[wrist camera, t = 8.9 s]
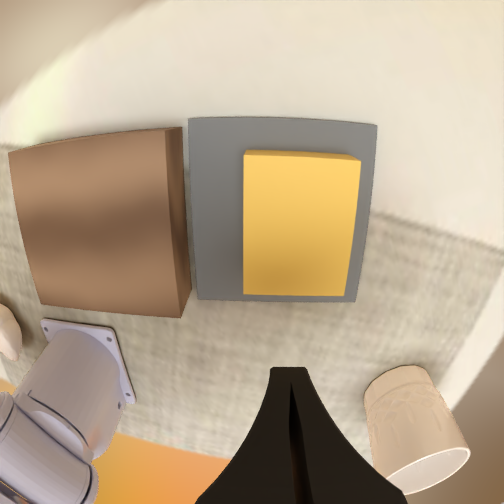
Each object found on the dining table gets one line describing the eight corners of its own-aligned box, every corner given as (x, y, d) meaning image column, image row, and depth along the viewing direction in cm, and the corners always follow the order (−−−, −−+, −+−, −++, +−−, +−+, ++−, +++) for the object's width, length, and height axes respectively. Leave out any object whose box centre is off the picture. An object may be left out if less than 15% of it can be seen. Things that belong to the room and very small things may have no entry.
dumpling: (43, 342, 26) (24, 368, 23) (17, 347, 27) (-1, 370, 24) (7, 283, 24) (-18, 305, 20) (-17, 294, 25) (-39, 314, 21)
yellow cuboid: (243, 294, 19) (245, 274, 21) (343, 296, 19) (336, 276, 21) (243, 155, 16) (246, 149, 18) (361, 161, 16) (349, 154, 18)
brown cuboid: (191, 289, 23) (180, 318, 19) (63, 281, 23) (41, 304, 20) (182, 127, 18) (164, 130, 15) (38, 144, 18) (8, 152, 15)
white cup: (440, 388, 27) (473, 464, 18) (374, 423, 29) (393, 502, 20) (421, 345, 24) (465, 435, 15) (343, 387, 26) (363, 483, 17)
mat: (353, 298, 22) (355, 302, 22) (199, 295, 23) (197, 299, 22) (374, 125, 17) (377, 125, 17) (189, 118, 18) (188, 118, 17)
